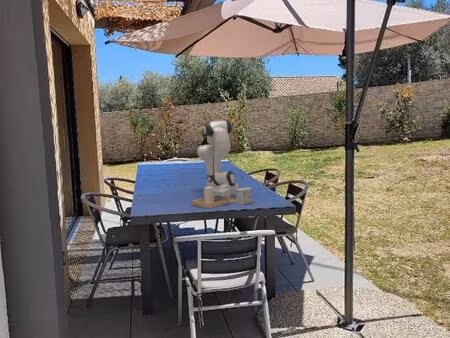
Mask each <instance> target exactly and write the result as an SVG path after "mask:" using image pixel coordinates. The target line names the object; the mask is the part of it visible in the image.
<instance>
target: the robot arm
mask: <svg viewBox="0 0 450 338" xmlns="http://www.w3.org/2000/svg"><path fill="white" fill-rule="evenodd" d="M232 131H233V125H232V121H230V120H226V119H225V120H212V121H211V122H210V121H209V122H208V121H207V122H206V123H204V124H203V133H204V135H205V136H207V137H206V142H207V143H208V144H204V145H199V146H198V148H197V156H198V158H200V159H202V160H203V162H204V163H205V165H206V179H207V180H206V187H214V193H213V196H214V197H217V196H218V198H224V197H232V196H231V195H236V189H240V185H239V183H238V182H237V181H236V175H235V173H234V172H233V171H232V170H225V171H222V160H223V158H224V157H227V156H228V154H229V153H230V151H231V141H230V135H229V134H230V133H232ZM202 194H203V195H204V191H202Z"/></svg>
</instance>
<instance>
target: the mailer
mask: <svg viewBox="0 0 450 338" xmlns="http://www.w3.org/2000/svg"><path fill="white" fill-rule="evenodd" d="M214 198H215V202H213V203H205V197H203V198H200V199H199V198H198V199H194V200H191V207H198V208H202V209H208V210H210V209H213V208H217V207H222V206H225V205H228V204H234V203H236V197H232V196H230V197H216V196H214Z"/></svg>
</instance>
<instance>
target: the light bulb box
mask: <svg viewBox="0 0 450 338" xmlns="http://www.w3.org/2000/svg"><path fill="white" fill-rule="evenodd" d="M252 191H253V190H252V187H247V186H246V187H241V188H240V187H239V189H236V193H235V198H236V202H235V204H236V205H241V206H244V205H247V204H251V203H253V193H252Z"/></svg>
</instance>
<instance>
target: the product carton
mask: <svg viewBox="0 0 450 338" xmlns="http://www.w3.org/2000/svg"><path fill="white" fill-rule="evenodd" d="M203 192H204V194H203V195H204V197H203V198H205V203H213V202H215V198H216V197H215V196H213V193H214V187H207V186H205V187H203ZM214 197H215V198H214Z"/></svg>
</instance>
